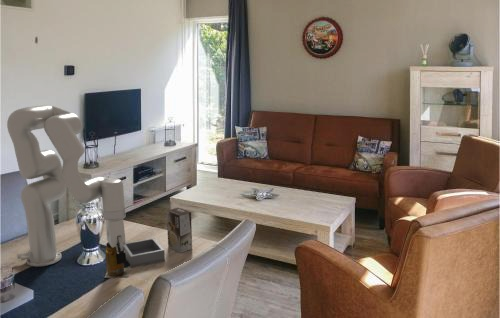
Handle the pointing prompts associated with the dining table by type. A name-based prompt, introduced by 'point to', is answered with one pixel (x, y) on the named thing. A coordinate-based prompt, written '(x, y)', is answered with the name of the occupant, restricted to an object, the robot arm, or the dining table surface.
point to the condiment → (114, 264)
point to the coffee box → (179, 230)
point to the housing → (144, 252)
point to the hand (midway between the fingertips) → (118, 258)
